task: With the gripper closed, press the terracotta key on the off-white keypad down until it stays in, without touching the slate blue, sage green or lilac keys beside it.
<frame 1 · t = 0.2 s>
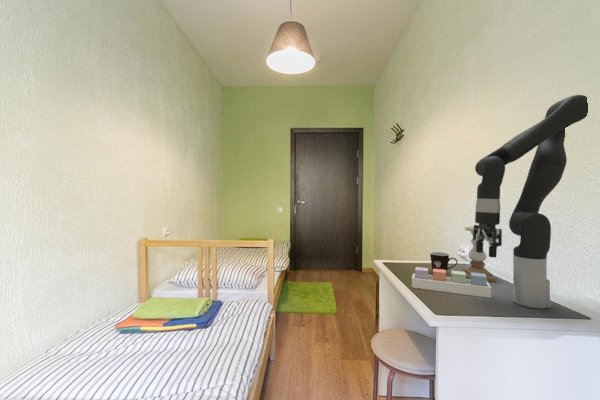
hand: (485, 254, 101), 17 cm above the table, tool pointing down, fingers open, 8 cm apart
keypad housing: (448, 289, 115), on the table
terracotta key: (439, 276, 116), point 5 cm above the table, slide at 0.0 cm
coffee mug: (442, 274, 137), on the table
lilac key: (421, 274, 119), point 5 cm above the table, slide at 0.0 cm
sage green key: (458, 278, 113), point 5 cm above the table, slide at 0.0 cm
candle holder: (477, 278, 130), on the table
slate blue key: (478, 280, 110), point 5 cm above the table, slide at 0.0 cm
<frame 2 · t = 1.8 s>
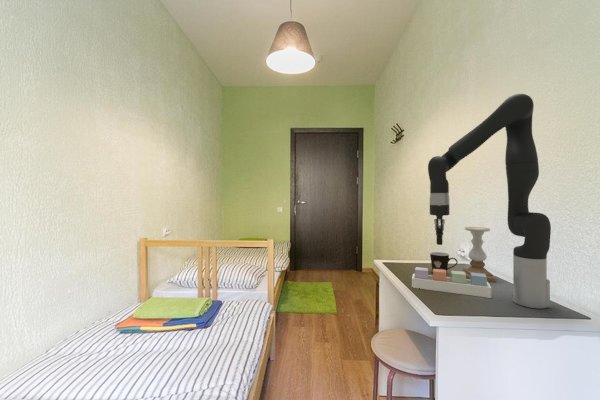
hand: (439, 244, 116), 19 cm above the table, tool pointing down, fingers closed
nothing on the table moved.
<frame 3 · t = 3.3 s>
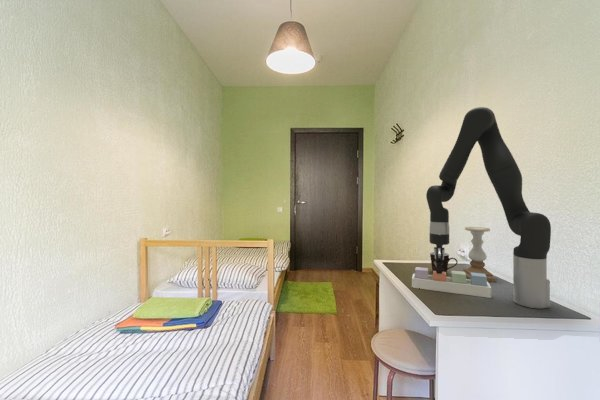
hand: (439, 272, 116), 7 cm above the table, tool pointing down, fingers closed
terracotta key: (439, 278, 116), point 4 cm above the table, slide at 0.9 cm, touching gripper
everything else where it was.
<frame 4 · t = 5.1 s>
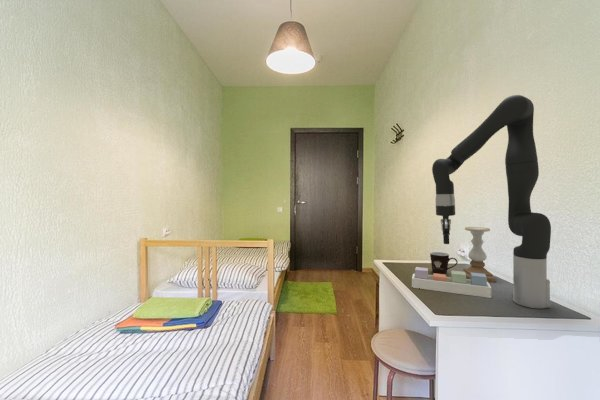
hand: (446, 243, 120), 18 cm above the table, tool pointing down, fingers closed
terracotta key: (439, 280, 116), point 3 cm above the table, slide at 2.0 cm
everything else where it was.
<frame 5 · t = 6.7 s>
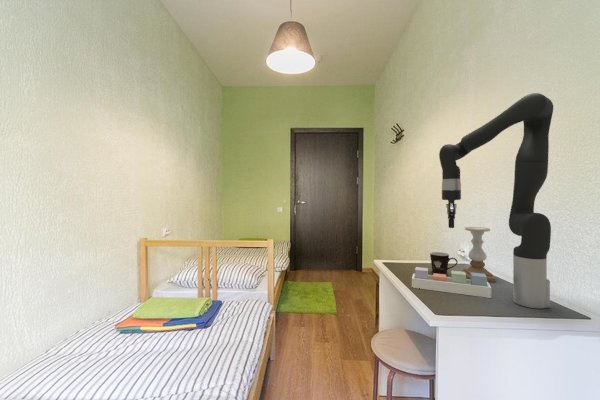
hand: (451, 227, 123), 25 cm above the table, tool pointing down, fingers closed
nothing on the table moved.
at the end: terracotta key slide at 2.0 cm; sage green key slide at 0.0 cm; lilac key slide at 0.0 cm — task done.
